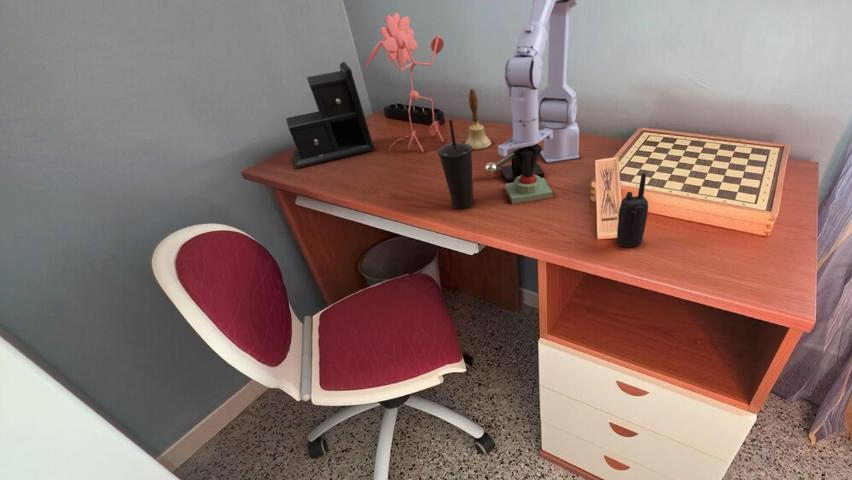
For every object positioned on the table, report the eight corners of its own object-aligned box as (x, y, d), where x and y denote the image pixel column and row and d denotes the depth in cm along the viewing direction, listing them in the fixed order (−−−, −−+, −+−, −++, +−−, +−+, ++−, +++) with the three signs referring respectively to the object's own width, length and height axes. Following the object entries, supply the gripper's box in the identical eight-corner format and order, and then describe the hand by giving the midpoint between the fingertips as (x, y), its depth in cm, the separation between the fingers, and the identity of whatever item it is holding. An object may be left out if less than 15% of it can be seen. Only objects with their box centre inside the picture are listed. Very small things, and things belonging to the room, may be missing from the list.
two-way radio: (639, 237, 87) (650, 168, 77) (647, 249, 84) (660, 178, 74) (613, 240, 87) (620, 171, 77) (620, 253, 83) (629, 182, 74)
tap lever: (490, 181, 110) (482, 170, 108) (487, 175, 113) (480, 164, 111) (530, 155, 108) (523, 144, 106) (526, 150, 111) (520, 139, 109)
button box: (543, 183, 108) (543, 170, 106) (552, 197, 102) (552, 184, 100) (505, 189, 107) (504, 176, 105) (512, 204, 101) (511, 190, 99)
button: (533, 179, 104) (533, 171, 103) (537, 185, 102) (536, 177, 100) (519, 181, 104) (518, 173, 103) (522, 188, 101) (522, 180, 100)
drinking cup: (466, 215, 98) (453, 128, 85) (441, 208, 101) (424, 123, 89) (485, 201, 103) (475, 116, 90) (460, 194, 106) (447, 112, 93)
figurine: (462, 133, 139) (445, 6, 116) (405, 163, 123) (373, 23, 101) (428, 126, 146) (406, 5, 123) (370, 153, 130) (333, 20, 108)
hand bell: (496, 141, 132) (491, 86, 121) (481, 151, 126) (474, 95, 116) (475, 137, 135) (468, 84, 125) (459, 147, 130) (451, 92, 120)
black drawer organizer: (296, 169, 125) (261, 83, 110) (293, 157, 132) (260, 75, 117) (375, 151, 132) (352, 68, 117) (368, 140, 139) (346, 61, 124)
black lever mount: (506, 183, 109) (504, 152, 104) (500, 170, 115) (498, 140, 110) (544, 177, 110) (543, 146, 105) (536, 165, 117) (535, 135, 111)
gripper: (538, 105, 98) (539, 161, 107) (487, 122, 92) (493, 180, 101) (559, 112, 94) (558, 170, 103) (507, 130, 88) (511, 190, 96)
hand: (527, 175), depth 101 cm, fingers closed, pressing on button
